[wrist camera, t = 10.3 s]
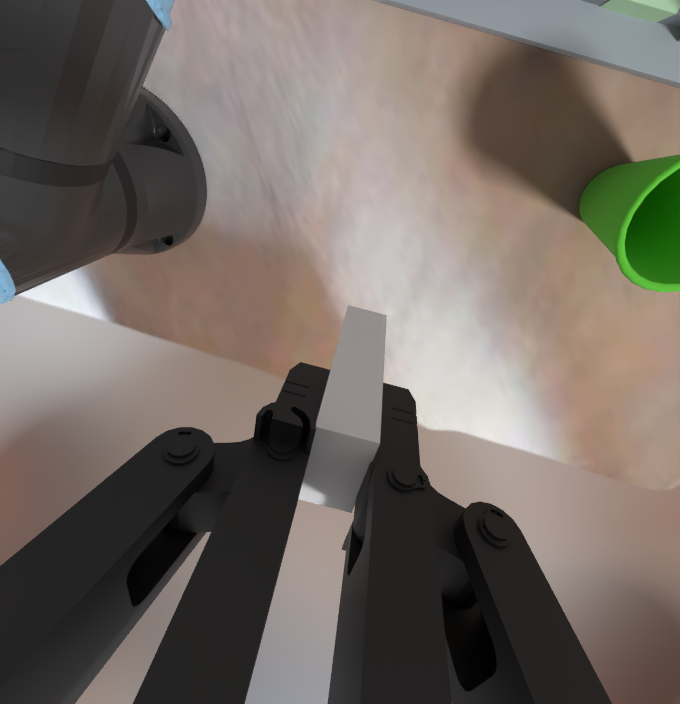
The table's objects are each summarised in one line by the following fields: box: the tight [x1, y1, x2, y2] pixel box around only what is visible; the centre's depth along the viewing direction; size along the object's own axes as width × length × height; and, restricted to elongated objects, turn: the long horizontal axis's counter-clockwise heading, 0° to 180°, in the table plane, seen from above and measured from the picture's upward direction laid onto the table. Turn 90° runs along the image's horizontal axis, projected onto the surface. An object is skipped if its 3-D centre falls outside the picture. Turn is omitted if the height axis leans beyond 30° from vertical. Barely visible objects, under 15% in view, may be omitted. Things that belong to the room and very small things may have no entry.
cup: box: [579, 155, 680, 292], centre depth 26 cm, size 9×9×11 cm
